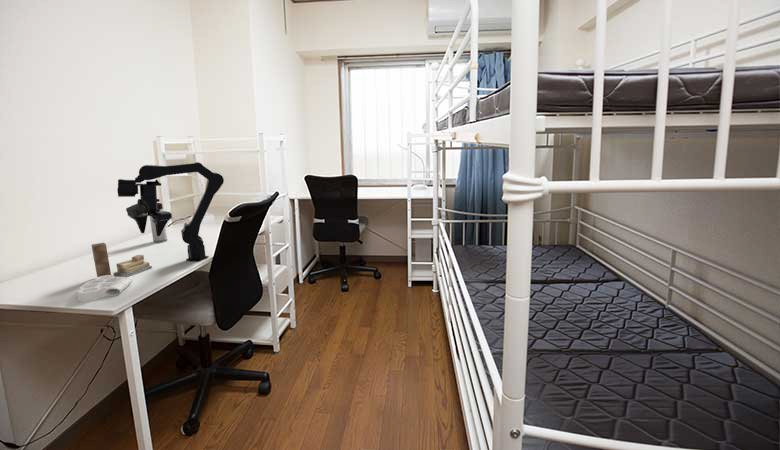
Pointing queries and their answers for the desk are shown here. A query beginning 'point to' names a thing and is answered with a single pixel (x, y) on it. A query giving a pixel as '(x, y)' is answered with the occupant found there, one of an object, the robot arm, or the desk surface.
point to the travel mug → (155, 238)
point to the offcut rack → (132, 266)
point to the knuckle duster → (102, 287)
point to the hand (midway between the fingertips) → (150, 234)
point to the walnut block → (101, 259)
